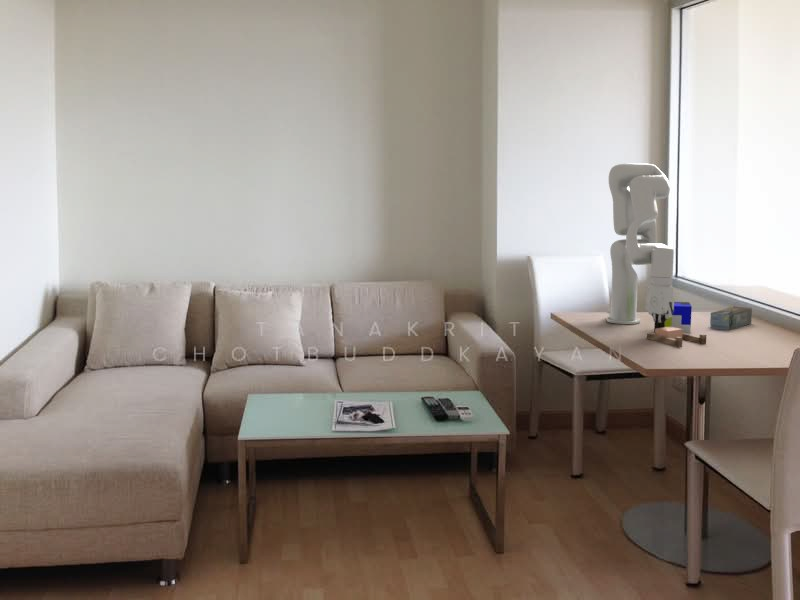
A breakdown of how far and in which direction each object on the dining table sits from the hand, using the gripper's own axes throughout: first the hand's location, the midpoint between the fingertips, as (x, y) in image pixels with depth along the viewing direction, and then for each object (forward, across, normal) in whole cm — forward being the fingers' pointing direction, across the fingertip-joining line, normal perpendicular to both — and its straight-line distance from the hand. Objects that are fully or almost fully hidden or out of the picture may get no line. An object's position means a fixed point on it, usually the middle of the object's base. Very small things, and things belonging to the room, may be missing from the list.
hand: (659, 332), depth 339 cm
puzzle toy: (+2, -6, +13) cm, 15 cm away
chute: (+1, +8, 0) cm, 9 cm away
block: (+2, +5, 0) cm, 5 cm away
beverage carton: (+2, -6, +39) cm, 40 cm away
